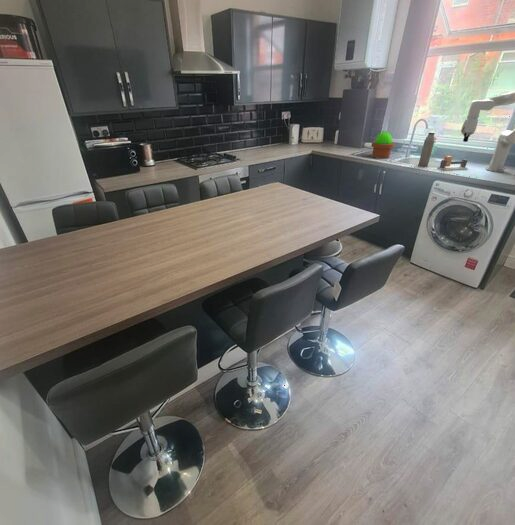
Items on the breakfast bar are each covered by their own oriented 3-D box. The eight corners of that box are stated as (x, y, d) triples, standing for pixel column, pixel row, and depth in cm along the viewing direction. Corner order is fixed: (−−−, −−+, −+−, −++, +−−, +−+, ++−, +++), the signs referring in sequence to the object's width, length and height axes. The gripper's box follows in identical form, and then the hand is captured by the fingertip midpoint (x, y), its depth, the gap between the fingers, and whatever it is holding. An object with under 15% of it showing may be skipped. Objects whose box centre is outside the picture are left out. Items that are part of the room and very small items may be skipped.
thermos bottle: (416, 164, 273) (424, 132, 259) (424, 164, 273) (433, 132, 259) (420, 166, 266) (429, 133, 252) (429, 166, 267) (438, 133, 252)
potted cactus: (389, 159, 296) (395, 132, 283) (367, 157, 306) (371, 131, 293) (393, 155, 312) (398, 130, 299) (372, 154, 322) (376, 129, 309)
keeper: (449, 166, 254) (452, 156, 250) (445, 166, 254) (448, 157, 250) (445, 165, 258) (448, 155, 254) (441, 165, 258) (444, 155, 254)
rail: (467, 169, 255) (470, 160, 252) (444, 170, 253) (447, 161, 249) (458, 166, 264) (461, 158, 260) (436, 168, 261) (439, 159, 258)
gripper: (477, 116, 242) (469, 140, 252) (460, 117, 241) (453, 141, 250) (484, 117, 236) (476, 141, 245) (467, 118, 234) (460, 142, 243)
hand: (465, 141), depth 247 cm, fingers closed
